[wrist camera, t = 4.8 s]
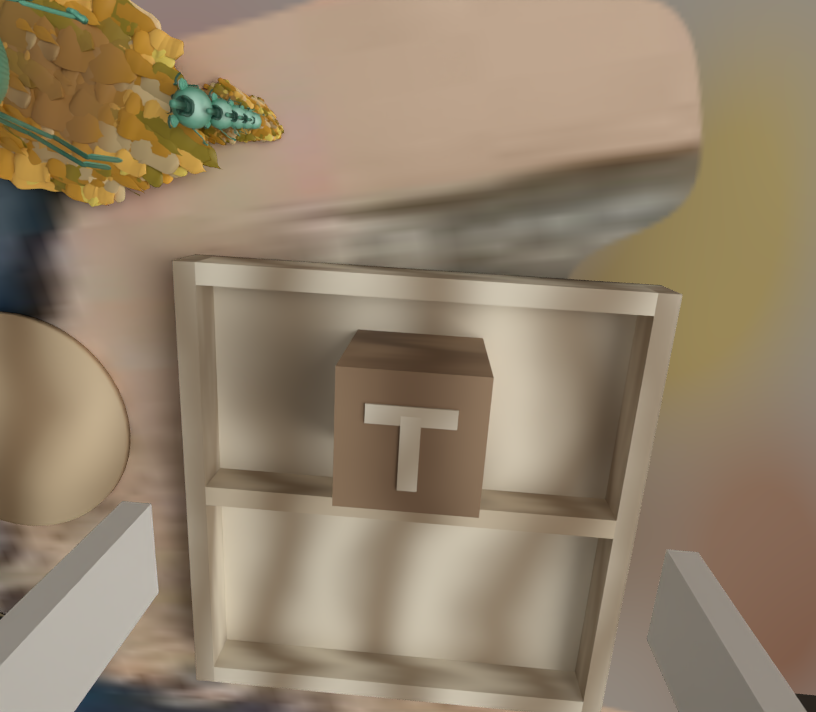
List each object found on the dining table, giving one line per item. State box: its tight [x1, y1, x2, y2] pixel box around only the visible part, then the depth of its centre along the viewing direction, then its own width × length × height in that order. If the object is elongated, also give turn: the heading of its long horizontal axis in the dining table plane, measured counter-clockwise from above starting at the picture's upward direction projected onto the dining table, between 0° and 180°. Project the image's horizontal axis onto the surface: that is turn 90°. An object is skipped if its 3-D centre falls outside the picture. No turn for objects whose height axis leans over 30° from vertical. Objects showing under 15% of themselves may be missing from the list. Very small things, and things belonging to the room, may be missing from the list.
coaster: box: [0, 312, 130, 526], centre depth 30 cm, size 12×12×1 cm
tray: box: [172, 255, 682, 712], centre depth 29 cm, size 22×23×2 cm
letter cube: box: [332, 329, 494, 518], centre depth 25 cm, size 6×6×6 cm
